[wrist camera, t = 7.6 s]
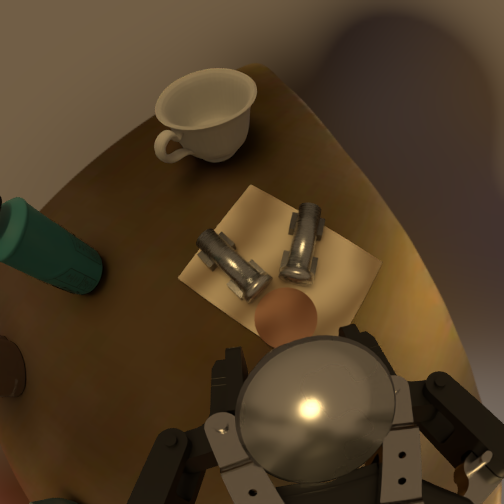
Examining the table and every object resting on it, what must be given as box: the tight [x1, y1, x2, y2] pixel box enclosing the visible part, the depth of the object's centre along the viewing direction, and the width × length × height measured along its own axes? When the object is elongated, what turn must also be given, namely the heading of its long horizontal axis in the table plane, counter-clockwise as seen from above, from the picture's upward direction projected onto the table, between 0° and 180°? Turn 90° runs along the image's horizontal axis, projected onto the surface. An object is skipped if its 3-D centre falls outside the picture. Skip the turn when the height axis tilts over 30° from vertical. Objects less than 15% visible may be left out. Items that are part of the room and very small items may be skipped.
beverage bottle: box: [0, 197, 102, 295], centre depth 22 cm, size 6×7×20 cm
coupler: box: [235, 335, 396, 483], centre depth 11 cm, size 5×5×10 cm
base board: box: [178, 185, 382, 348], centre depth 29 cm, size 18×14×1 cm
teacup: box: [154, 68, 257, 163], centre depth 32 cm, size 12×15×10 cm
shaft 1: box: [196, 229, 273, 304], centre depth 28 cm, size 8×4×4 cm, turn 45°
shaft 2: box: [278, 203, 325, 286], centre depth 28 cm, size 8×4×4 cm, turn 165°
